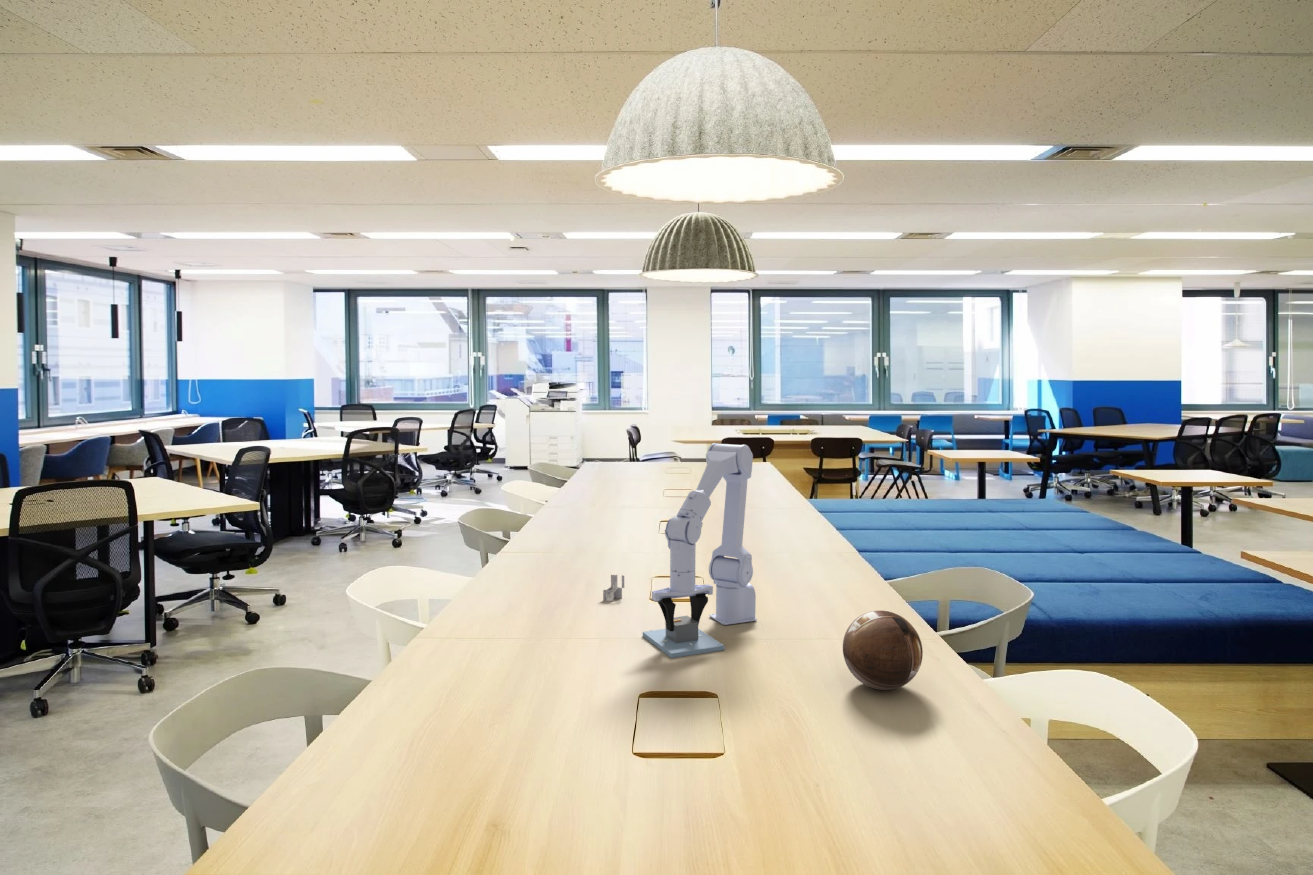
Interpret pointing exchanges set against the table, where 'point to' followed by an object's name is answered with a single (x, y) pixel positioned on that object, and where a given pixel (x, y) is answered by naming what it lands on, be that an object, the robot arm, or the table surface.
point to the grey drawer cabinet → (683, 630)
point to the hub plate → (683, 644)
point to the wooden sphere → (882, 650)
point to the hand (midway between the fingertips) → (682, 628)
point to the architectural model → (613, 589)
